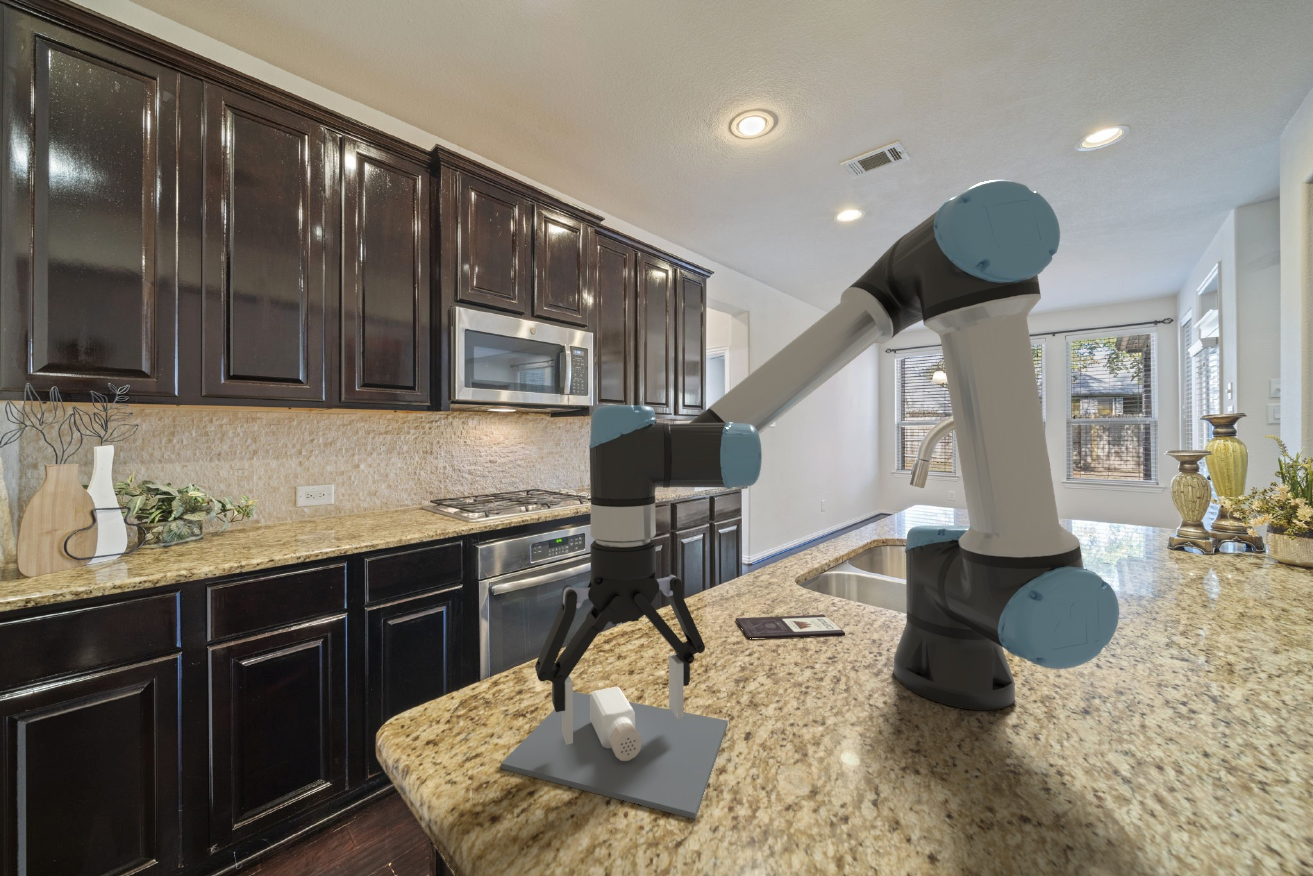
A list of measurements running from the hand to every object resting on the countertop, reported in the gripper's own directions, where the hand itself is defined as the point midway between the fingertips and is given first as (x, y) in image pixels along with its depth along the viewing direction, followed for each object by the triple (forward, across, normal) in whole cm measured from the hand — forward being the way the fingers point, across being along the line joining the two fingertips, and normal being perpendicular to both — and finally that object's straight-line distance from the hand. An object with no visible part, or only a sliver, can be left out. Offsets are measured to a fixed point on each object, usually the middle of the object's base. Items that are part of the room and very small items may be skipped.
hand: (624, 724), depth 57 cm
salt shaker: (0, +1, -6) cm, 6 cm away
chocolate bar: (+4, -40, -24) cm, 46 cm away
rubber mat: (+3, 0, -1) cm, 3 cm away
